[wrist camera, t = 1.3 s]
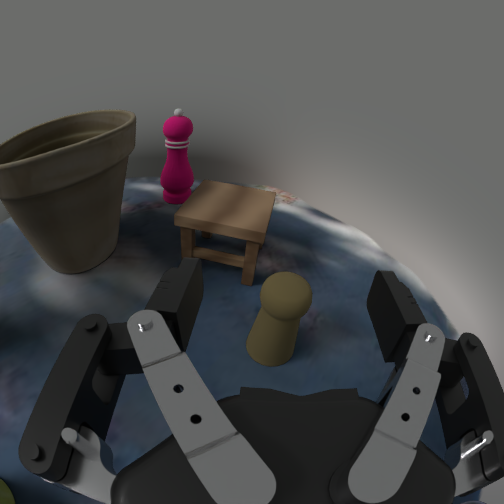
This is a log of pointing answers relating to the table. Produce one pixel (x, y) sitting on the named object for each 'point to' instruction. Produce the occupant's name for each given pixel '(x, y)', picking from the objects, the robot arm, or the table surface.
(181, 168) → the pepper mill
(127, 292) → the table surface
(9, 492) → the plant pot
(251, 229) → the footstool
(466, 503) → the milk frother
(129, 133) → the plant pot
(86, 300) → the table surface
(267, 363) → the cork
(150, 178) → the table surface
